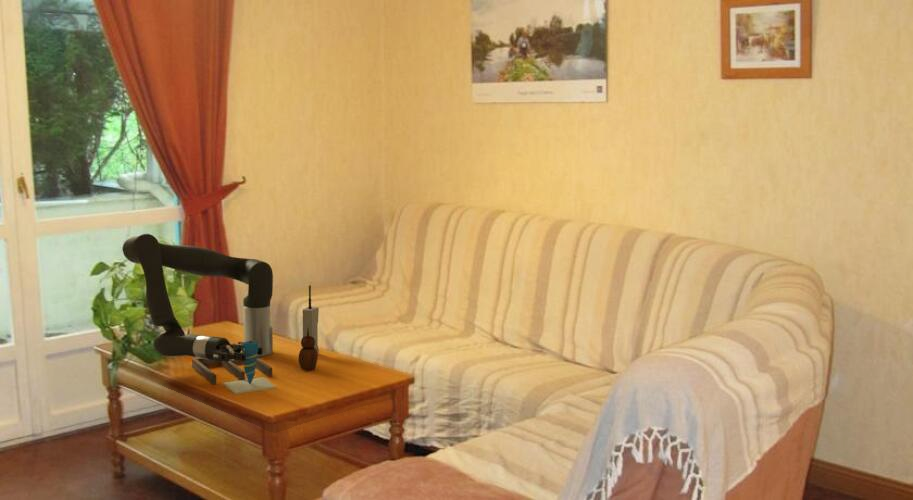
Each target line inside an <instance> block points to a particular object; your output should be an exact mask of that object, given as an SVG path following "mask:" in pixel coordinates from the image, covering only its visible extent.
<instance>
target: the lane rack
mask: <svg viewBox="0 0 913 500" xmlns="http://www.w3.org/2000/svg"><path fill="white" fill-rule="evenodd" d="M239 363H241V364H242V363H243V361H239V360H234V361H232V360H229V361H228V362H226V361H222V362H219V361H213V360H206V359H202V358H198V357H194V358H192V359H191V367H192V369H193V370H194V371H196V372H197V373H198V374H199V375H200V376H202V377H203V378H204V379H205V380H206V381H208V383H210V384H211V385H212V386H217V383H218V382H217V374H216V373H214V372H213V371H212V370H210V369H209V368H208V367H216V366H221V367H222V368H224V369H225V370H226V371H227V372H229V373H230V374H231V375H233V377H235V378H236V379H237V380H238V381H240V380H246V373H245V370H243V369H242V368H240V367H239V366H238V365H237V364H239ZM255 370H258V371H259V372H261V373H262V374H263V375H264V376H266V377H268V378H273V367H271V366H270V365H269V364H267V363H266V362H265V361H262V359H260V358H257V360H256V368H255Z"/></svg>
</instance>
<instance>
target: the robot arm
mask: <svg viewBox="0 0 913 500" xmlns="http://www.w3.org/2000/svg"><path fill="white" fill-rule="evenodd" d="M122 253H123V256H124V257H125V258H126V259H127V260H128V261H129V262H131V263H134V264H140V266H141V268H142V270H143V273H144V278H145V286H146V287H145V297H146V305H147V308H148V312H149V317H150V319H151V322H152V324H153V325H154V326H155V327H161V328H163V330H164V331H165V332H163V333H161V334H159V335H157V336H156V337H155V339H154V341H153V349H154V350H155V351H156V352H157V353H158V354H160V355H162V356H164V357H181V356H187V357H194V358H202V359H206V360H213V361H219V362H222V361H226V362H228V361H229V360H232V361H234V360H239V361H246V354H243V353H242V351H243V343H244V342H247V341H249V339H252V341H255V342H257V344H258V346H259V349H258V352H257V354H258V357H265V356H268V355H271V354H272V355H273V354H274V353H273V352H274V349H273V347H274V346H273V345H274V342H273V341H274V340H273V339H274V337H273V334H274V333H273V327H272V326H271V300H272V297H273V289H274V287H273V285H274V284H273V283H274V274H273V269H272V266H271V265H270V264H269V263H268V262H266V261H262V260H259V259H256V258H243V257H235V256H229V255H227V254H224V253H222V252H219V251H217V250H213V249H209V248H205V247H200V246H195V245H183V244H166V243H160V242H159V241H158V239H157V238H156V237H155V236H154V235H153V234H150V233H139V234H136V235H132V236H130V237H129V238H127V239H126V240H125V241H124V242H123V245H122ZM164 267H165V268H168V269H171V270H174V271H175V270H176V271H180V272H183V273H187V274H190V275H196V276H197V275H198V276H201V277H209V278H210V277H211V278H212V277H213V278H218V277H220V278H228V279H232V280H235V281H238V282H240V283H244V284H245V285H248V288H247V289H248V291H247V295H246V296H245V297H244V298H243V303H242V304H243V305H242V308H243V309H242V311H243V342H242V341H238V342H237V343H235V342H234V343H230V341H229V340H228V338H226V337H220V336H214V335H200V334H194V333H193V334H191V333H190V334H186V333H185V332H184V330H183V328H182V326H181V324H180V323H179V321H178V319H177V318H176V316H175V314H174V311H173V307H172V303H171V301H170V296H169V293H168V289H167V285H166V281H165V273H164Z"/></svg>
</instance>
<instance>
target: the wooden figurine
mask: <svg viewBox="0 0 913 500" xmlns="http://www.w3.org/2000/svg"><path fill="white" fill-rule="evenodd" d="M300 339H301V340H300V345H301V347H302V348H301V349H300V350H299V353H298V365H299V367H300V369H301V370H302V371H305V372H306V371H307V372H310V371H313V370H315V368H316V367H317V363H318V359H319V357H318V354H319V353H318V354H317V350H316V348H314V346H315V339H314V337H312V336H309V328H308V330H307V336H304V337H303V336H302V338H300Z"/></svg>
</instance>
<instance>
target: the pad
mask: <svg viewBox="0 0 913 500" xmlns="http://www.w3.org/2000/svg"><path fill="white" fill-rule="evenodd" d="M223 386H224V387H226V388H227V389H229V390H230V391H231V392H232V393H234V394H235V395H236V394H244V393H250V392H251V393H252V392H257V391H265V390H266V391H267V390H272V389H276V388H277V387H276V385H275V384H274V383H272V381H271V382H270V381H269V380H268V379H266V378H265V377H257V378H255V377H254V378H253V380H252V382H251V384H249V382H248V379H245V380H235V381H234V380H233V381H226V382H223Z"/></svg>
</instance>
